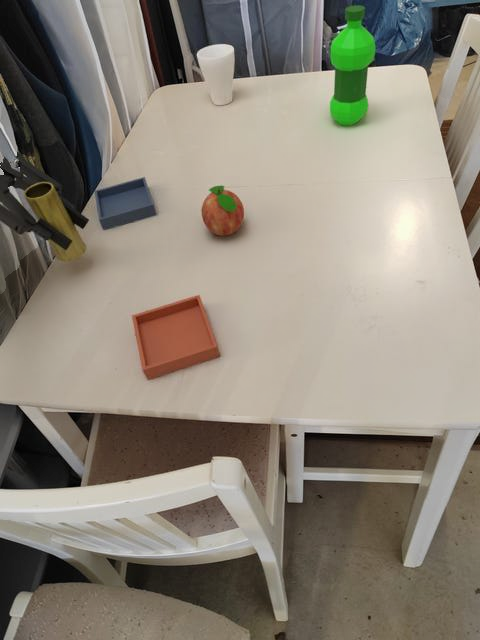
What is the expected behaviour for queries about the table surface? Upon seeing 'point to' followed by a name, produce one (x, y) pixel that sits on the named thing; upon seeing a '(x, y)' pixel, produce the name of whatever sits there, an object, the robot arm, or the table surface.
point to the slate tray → (124, 203)
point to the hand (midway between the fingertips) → (77, 234)
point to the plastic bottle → (351, 68)
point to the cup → (218, 71)
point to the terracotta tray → (174, 337)
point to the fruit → (222, 211)
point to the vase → (55, 218)
